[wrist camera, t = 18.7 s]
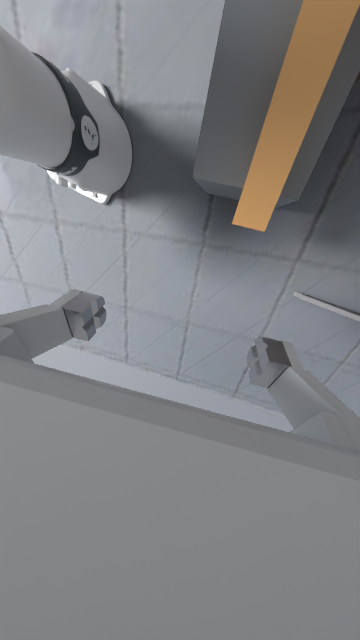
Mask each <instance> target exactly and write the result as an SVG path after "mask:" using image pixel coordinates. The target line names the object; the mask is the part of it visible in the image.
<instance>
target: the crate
mask: <svg viewBox="0 0 360 640" xmlns="http://www.w3.org/2000/svg"><path fill="white" fill-rule="evenodd" d="M302 3H303V0H225V4H224V9H223V15H222V20H221V25H220V31H219V36H218V41H217V47H216V52H215V57H214V63H213V68H212V73H211V79H210V84H209V89H208V95H207V100H206V105H205V111H204V116H203V121H202V127H201V132H200V137H199V143H198V148H197V153H196V159H195V164H194V169H193V175H192V178H193V179H194V180H195V181H196V182H197V183H198V184H199V186H200V187H201V188H202V189H203V190H204V191H205V192H206V193H207V194H212V195H216V196H221V197H225V198H230V199H234V200H240V197H241V194H242V191H243V187H244V184H245V181H246V178H247V175H248V172H249V169H250V166H251V162H252V159H253V156H254V153H255V150H256V147H257V144H258V141H259V138H260V134H261V131H262V128H263V125H264V122H265V119H266V116H267V113H268V109H269V106H270V103H271V100H272V97H273V94H274V91H275V88H276V84H277V81H278V78H279V75H280V72H281V69H282V66H283V63H284V60H285V56H286V53H287V50H288V47H289V44H290V41H291V38H292V35H293V31H294V28H295V25H296V22H297V19H298V16H299V13H300V10H301V6H302ZM359 71H360V5H359V7H358V10H357V12H356V14H355V17H354V19H353V22H352V24H351V26H350V29H349V31H348V33H347V36H346V38H345V41H344V43H343V45H342V48H341V50H340V53H339V55H338V57H337V60H336V62H335V65H334V67H333V69H332V72H331V74H330V77H329V79H328V81H327V84H326V86H325V88H324V91H323V93H322V96H321V98H320V100H319V103H318V105H317V108H316V110H315V112H314V115H313V117H312V120H311V122H310V124H309V127H308V129H307V131H306V134H305V136H304V139H303V141H302V143H301V146H300V148H299V151H298V153H297V155H296V158H295V160H294V163H293V165H292V167H291V170H290V172H289V174H288V177H287V179H286V182H285V184H284V186H283V189H282V191H281V194H280V196H279V198H278V201H277V203H276V206H275V208H274V209H276V208H279V207H281V206H284V205H287V204H290V203H292V202H295V201H298V200H299V199H300V197H301V194H302V192H303V190H304V188H305V186H306V184H307V182H308V180H309V177H310V175H311V173H312V171H313V169H314V167H315V165H316V163H317V160H318V158H319V156H320V154H321V152H322V150H323V148H324V146H325V143H326V141H327V139H328V137H329V135H330V133H331V131H332V129H333V126H334V124H335V122H336V120H337V118H338V116H339V114H340V112H341V109H342V107H343V105H344V103H345V101H346V99H347V97H348V95H349V92H350V90H351V88H352V86H353V84H354V82H355V80H356V78H357V75H358V73H359Z"/></svg>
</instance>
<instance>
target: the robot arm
mask: <svg viewBox="0 0 360 640" xmlns="http://www.w3.org/2000/svg"><path fill="white" fill-rule="evenodd" d="M0 155H3V156H8V157H12V158H16V159H20V160H24V161H28V162H32V163H35V164H37V165H38V166H40V167H42V168H44V169H46V170H47V172H48V173H49V175H50V177H51V178H52V179H54V180H55V182H56V183H57V184H59V185H61V186H64V187H69V188H71V189H73V190H75V191H77V192H79V193H81V194H83V195H85V196H87V197H89V198H91V199H93V200H95V201H97V202H99V203H101V204H106V203H107V202H108V201H109V199H110V197H111V195H112V194H113V193H114V192H116V191H118V190H119V189H120V188H121V187H122V186H123V185H124V184H125V182H126V180H127V178H128V176H129V173H130V170H131V164H132V146H131V140H130V136H129V133H128V130H127V127H126V125H125V123H124V121H123V119H122V118H121V116H120V115H119V113H118V112H117V111H116V110H115V108H114V107H113V106H112V104H111V102H110V99H109V96H108V94H107V91H106V89H105V87H104V86H103V85H102V84H101V83H100V82H99V81H91V82H87V81H85V80H84V79H83V78H82V77H81V76H79V75H78V74H77V73H76V72H74V71H73V70H72V69H69V68H67V70H62V71H60V70H59V69H58V68H57V67H56V66H55V65H53V64H52V63H50V62H49V61H48V60H46V59H44V58H43V57H42V56H40V55H38V54H36V53H33V52H31V51H29V50H28V49H27V48H26V47H25V46H23V45H22V44H21V43H20V42H19V41H18V40H16V39H15V38H14V37H13V36H12V35H10V34H9V33H8V32H7V31H6V30H5V29H3V28H2V27H1V26H0ZM97 195H98V196H99V197H98V196H97ZM104 304H105V301H104V298H103V297H102V296H98V295H94V294H91V293H87V292H83V291H79V290H75V289H74V290H71V291H69V292H68V293H66V294H65V295H63V296H62V297H60V298H59V299H57V300H56V301H54V302H53V303H52V304H50V305H47V304H46V305H41V306H37V307H33V308H29V309H24V310H20V311H16V312H12V313H8V314H3V315H0V640H360V418H359V417H358V416H357V415H356V414H355V413H354V412H353V411H351V410H350V409H349V408H348V407H347V406H346V405H345V404H344V403H343V402H342V401H340V400H339V399H338V398H337V397H336V396H335V395H334V394H333V393H332V392H331V391H329V390H328V389H327V388H326V387H325V386H324V385H323V384H322V383H321V382H319V381H318V380H317V379H316V378H315V377H314V376H313V375H312V374H311V373H310V372H308V371H306V370H304V368H303V366H302V363H301V361H300V359H299V357H298V355H297V353H296V350H295V348H294V346H293V345H292V344H291V343H288V342H284V341H278V340H274V339H270V338H266V337H262V336H259V337H258V338H257V339H256V341H255V344H256V345H255V346H253V347H251V349H250V350H249V352H248V356H247V364H248V366H249V367H250V368H251V370H250V371H249V377H250V383H251V384H254V385H257V386H261V387H264V388H268V391H269V392H270V394H271V395H272V397H273V398H274V400H275V401H276V403H277V404H278V406H279V407H280V409H281V410H282V412H283V413H284V415H285V416H286V418H287V419H288V420H289V422H290V423H291V425H292V426H293V428H294V429H293V430H292V431H290V432H285V431H282V430H278V429H274V428H271V427H267V426H263V425H259V424H256V423H252V422H248V421H245V420H241V419H237V418H233V417H230V416H226V415H222V414H219V413H215V412H211V411H208V410H204V409H200V408H197V407H193V406H189V405H185V404H182V403H178V402H174V401H170V400H167V399H163V398H159V397H156V396H152V395H148V394H145V393H141V392H137V391H133V390H130V389H126V388H122V387H119V386H115V385H111V384H108V383H104V382H100V381H96V380H93V379H89V378H86V377H81V376H78V375H74V374H71V373H67V372H63V371H60V370H56V369H52V368H48V367H45V366H41V365H37V364H34V362H33V361H32V358H34V357H36V356H38V355H40V354H42V353H44V352H46V351H48V350H50V349H52V348H54V347H56V346H58V345H60V344H62V343H64V342H66V341H68V340H70V339H72V338H77V339H81V340H85V341H89V340H90V339H91V338H92V337H93V336H94V334H95V333H96V329H97V328H100V327H101V326H102V325H103V324H104V322H105V319H106V310H105V309H104V308H103V305H104Z"/></svg>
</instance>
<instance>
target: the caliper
mask: <svg viewBox="0 0 360 640" xmlns="http://www.w3.org/2000/svg"><path fill="white" fill-rule="evenodd" d="M293 296H295V297H298V298H299V299H302V300H304V301H307V302H310V303H312V304H315V305H318V306H320V307H323V308H325V309H328V310H331V311H333V312H336V313H338V314H341V315H344V316H346V317H349V318H352V319H354V320H357V321H359V322H360V315H359V314H356V313H353V312H351V311H348V310H345V309H343V308H340V307H337V306H335V305H332V304H329V303H326V302H324V301H321V300H318V299H316V298H313V297H310V296H308V295H305V294H302V293H299V292H296V291H295V293H294V294H293Z"/></svg>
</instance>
